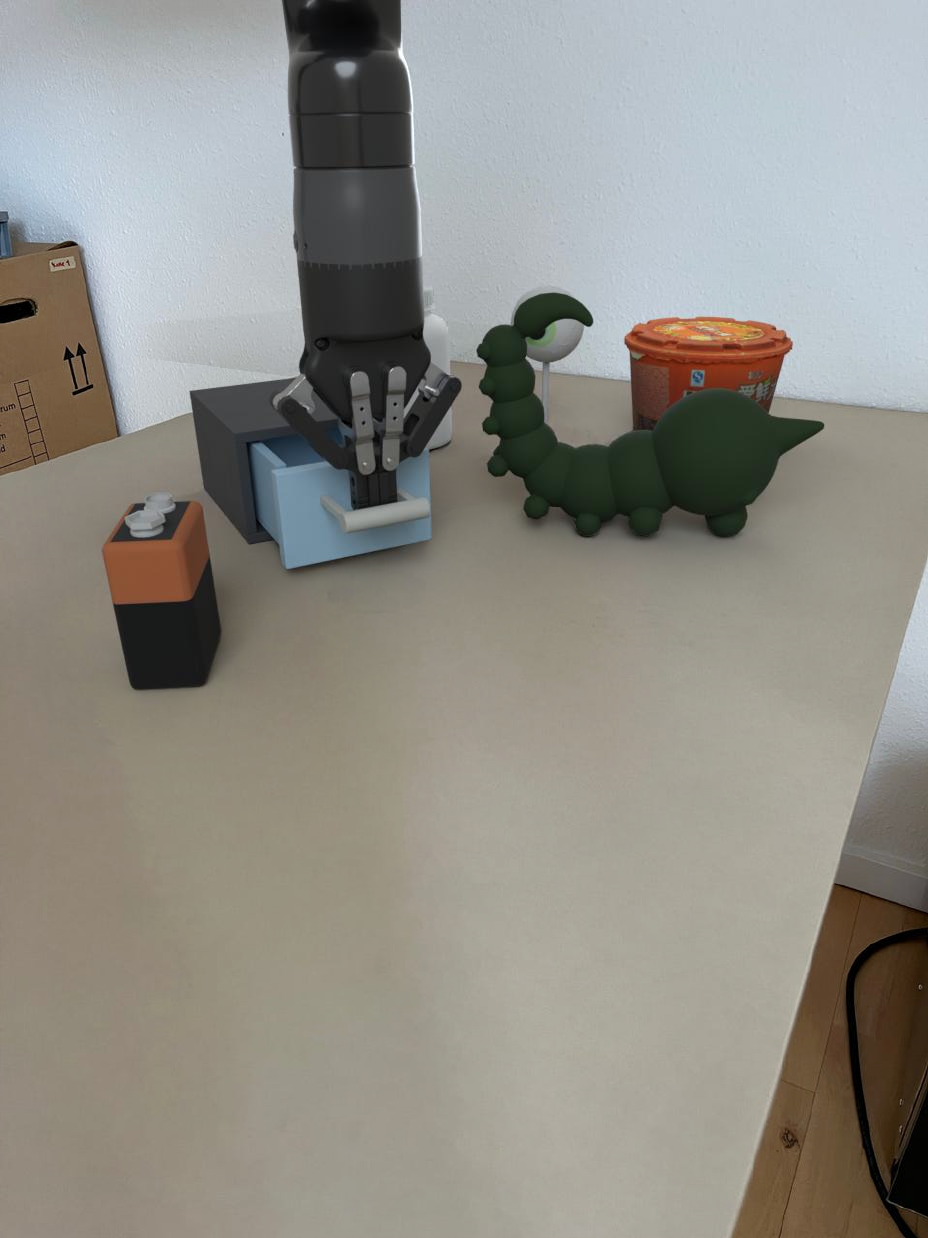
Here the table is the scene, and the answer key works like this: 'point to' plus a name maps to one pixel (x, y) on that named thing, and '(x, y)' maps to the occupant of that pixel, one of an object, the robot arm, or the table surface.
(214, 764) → the table surface
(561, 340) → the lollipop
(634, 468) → the toy figurine
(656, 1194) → the table surface
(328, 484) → the drawer
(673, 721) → the table surface
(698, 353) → the food container
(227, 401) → the dark grey box
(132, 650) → the battery
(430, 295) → the pill bottle
